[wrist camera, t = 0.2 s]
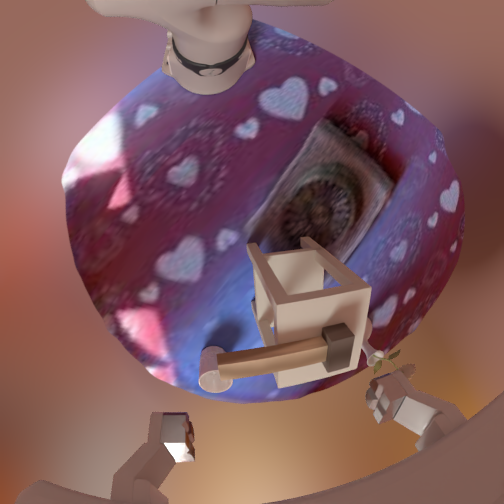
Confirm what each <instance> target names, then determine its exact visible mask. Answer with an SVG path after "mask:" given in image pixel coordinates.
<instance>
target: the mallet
mask: <svg viewBox="0 0 504 504" xmlns="http://www.w3.org/2000/svg"><path fill="white" fill-rule="evenodd" d="M354 339H355V335H354V334H353V333H352V331H351V330H350V329H349V328H348V326H347V325H346V324H345V323H339V324H335V325H331V326H326V327H322V336H318V337H313V338H309V339H304V340H299V341H294V342H289V343H284V344H278V345H273V346H267V347H261V348H255V349H248V350H241V351H234V352H227V353H219V354H217V364H218V370H219V374H220V379H221V381H222V380H230V379H237V378H244V377H251V376H257V375H263V374H269V373H274V372H279V371H284V370H289V369H294V368H299V367H303V366H308V365H312V364H316V363H320V362H322V364H323V366H324V367H325V369H326V371H327V373H330V372H333V371H337V370H340V369H344V368H347V367H349V365H350V360H351V355H352V350H353V344H354Z"/></svg>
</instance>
